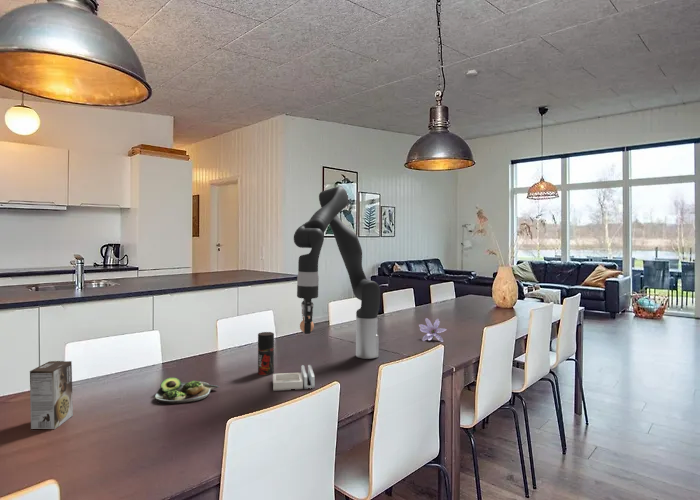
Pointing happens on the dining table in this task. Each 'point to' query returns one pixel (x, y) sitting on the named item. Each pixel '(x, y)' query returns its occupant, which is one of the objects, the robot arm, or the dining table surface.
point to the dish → (287, 381)
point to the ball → (303, 326)
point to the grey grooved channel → (309, 374)
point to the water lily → (431, 330)
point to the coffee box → (51, 394)
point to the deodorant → (265, 353)
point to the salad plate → (182, 391)
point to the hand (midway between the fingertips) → (306, 331)
